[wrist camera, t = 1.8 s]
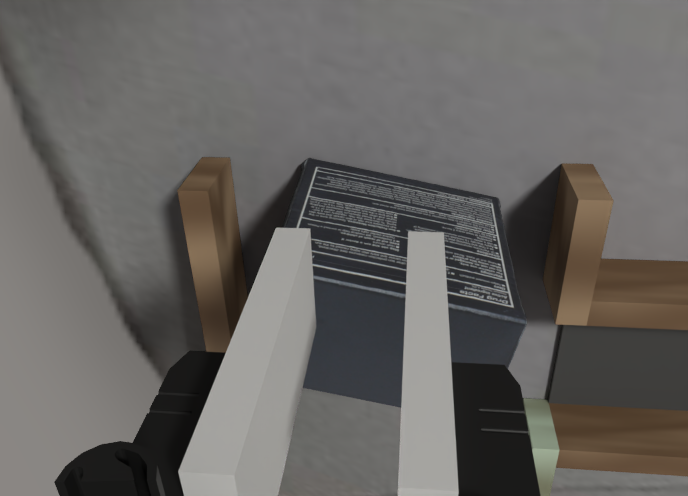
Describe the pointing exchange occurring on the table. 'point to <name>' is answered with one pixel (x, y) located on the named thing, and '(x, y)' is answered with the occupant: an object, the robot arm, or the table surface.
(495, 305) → the small box
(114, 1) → the table surface
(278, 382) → the robot arm
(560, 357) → the mat
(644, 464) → the wooden frame pieces
